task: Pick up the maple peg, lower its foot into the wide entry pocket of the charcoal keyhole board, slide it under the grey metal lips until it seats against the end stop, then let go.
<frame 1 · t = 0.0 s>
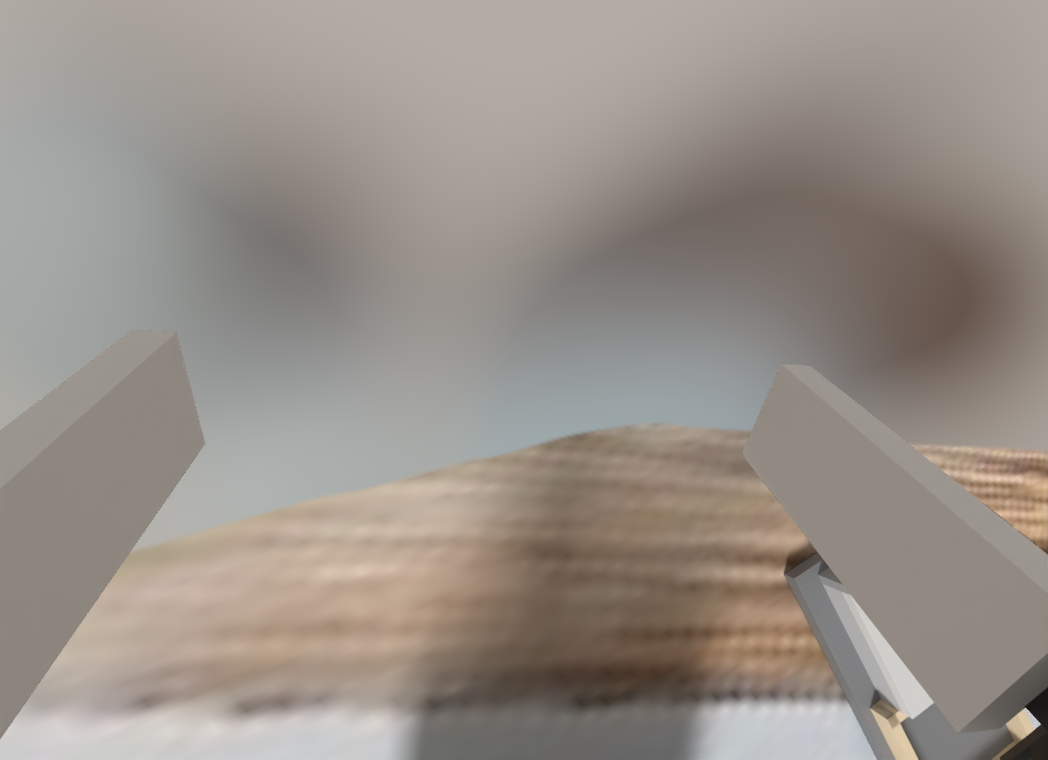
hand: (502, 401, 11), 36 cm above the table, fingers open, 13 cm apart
keyhole board: (906, 662, 52), on the table
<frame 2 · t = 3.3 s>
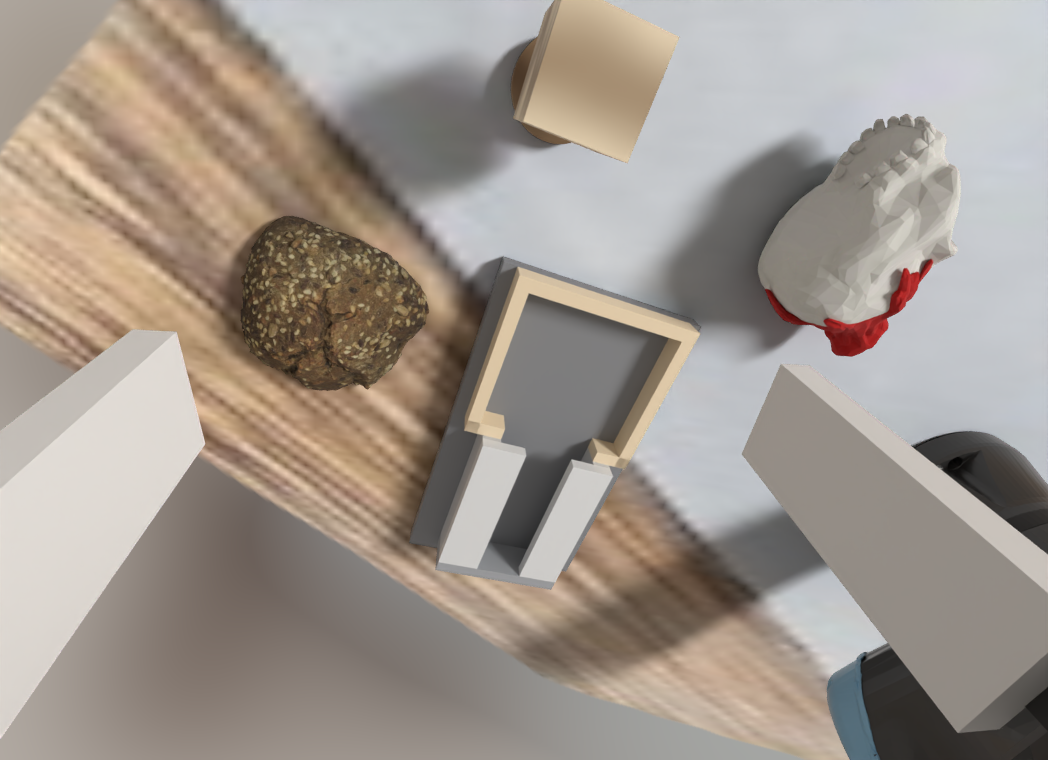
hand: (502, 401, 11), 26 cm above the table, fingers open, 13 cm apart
keyhole board: (542, 426, 43), on the table
bread roll: (333, 311, 37), on the table
white and red figurine: (811, 247, 37), on the table
maple peg: (558, 89, 31), on the table
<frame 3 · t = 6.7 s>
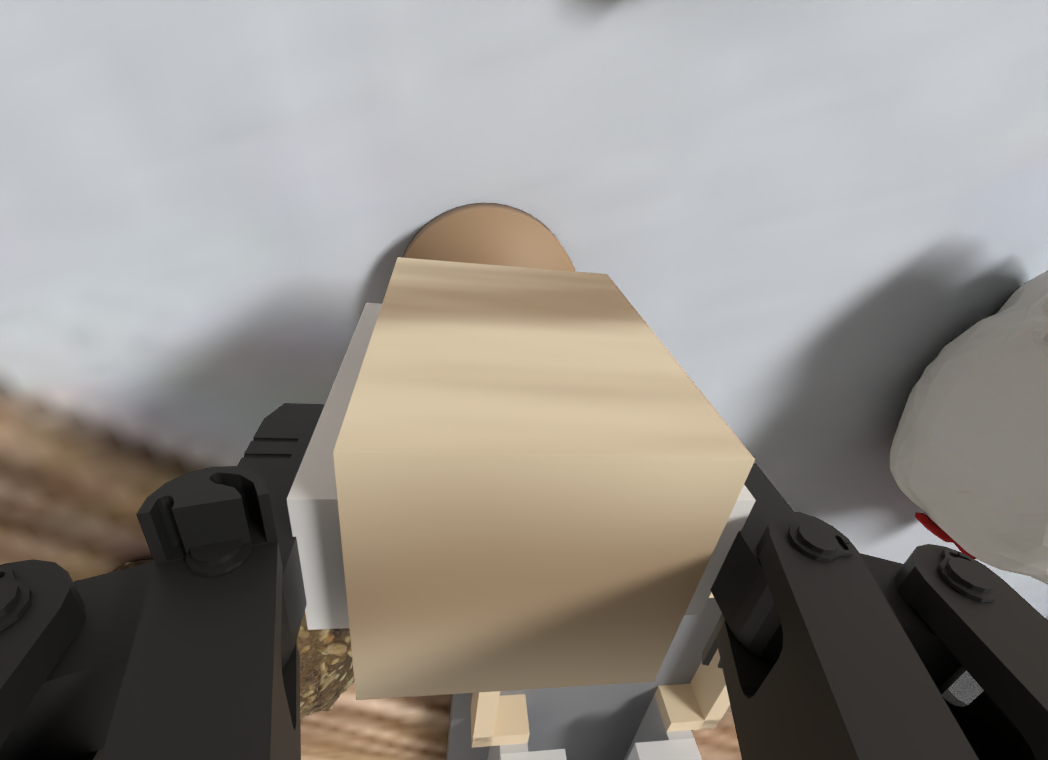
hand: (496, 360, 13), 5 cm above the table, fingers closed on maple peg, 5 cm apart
keyhole board: (584, 673, 30), on the table
bread roll: (250, 628, 25), on the table
white and red figurine: (966, 389, 22), on the table
maple peg: (486, 293, 17), on the table, touching gripper
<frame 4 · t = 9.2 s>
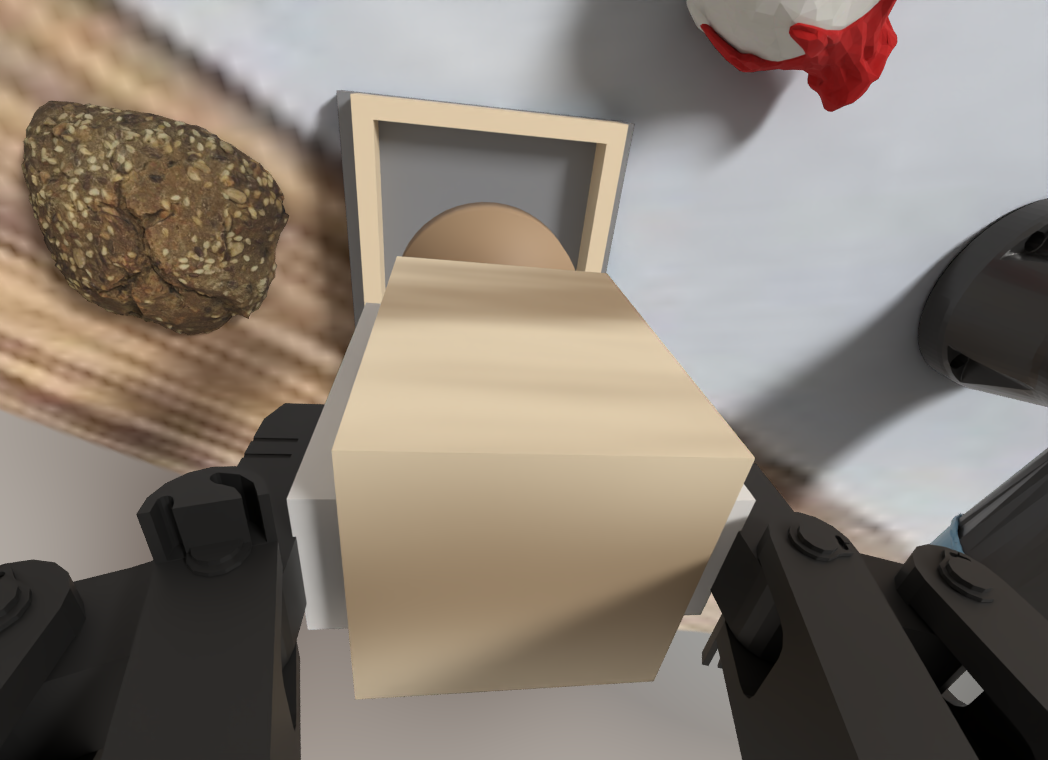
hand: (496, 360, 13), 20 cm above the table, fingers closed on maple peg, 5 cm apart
keyhole board: (478, 319, 34), on the table
bread roll: (173, 228, 29), on the table
maple peg: (486, 293, 17), point 16 cm above the table, touching gripper
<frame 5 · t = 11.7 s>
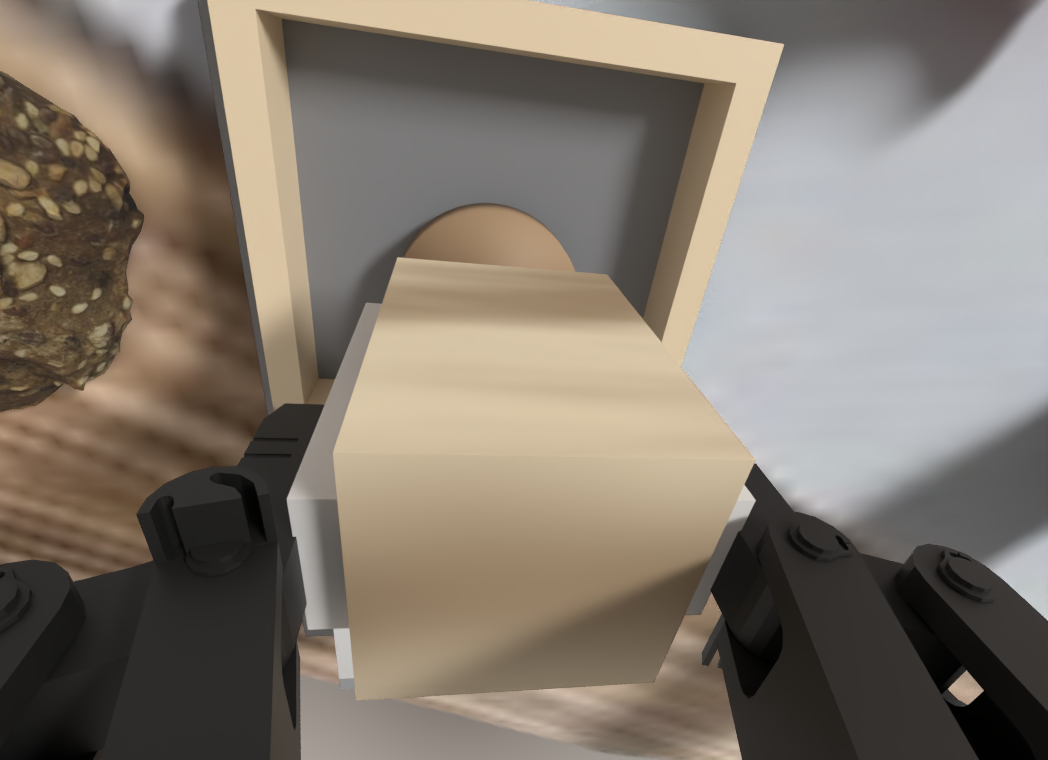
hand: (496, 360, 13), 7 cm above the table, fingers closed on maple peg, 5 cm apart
keyhole board: (475, 386, 21), on the table
maple peg: (486, 293, 17), point 2 cm above the table, touching gripper
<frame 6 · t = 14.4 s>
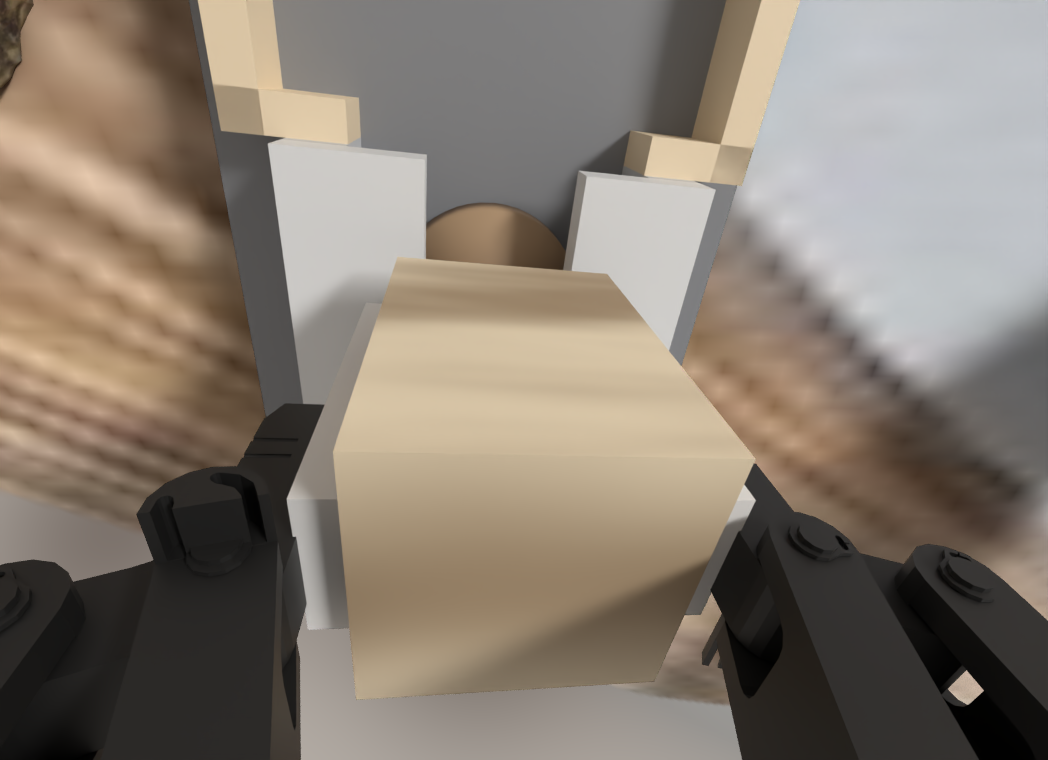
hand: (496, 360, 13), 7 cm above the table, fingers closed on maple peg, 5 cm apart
keyhole board: (494, 146, 16), on the table
maple peg: (486, 293, 17), point 2 cm above the table, touching gripper
when the fingers open (7 cm above the table, at t = 16.7 s): maple peg stays where it is, resting on keyhole board.
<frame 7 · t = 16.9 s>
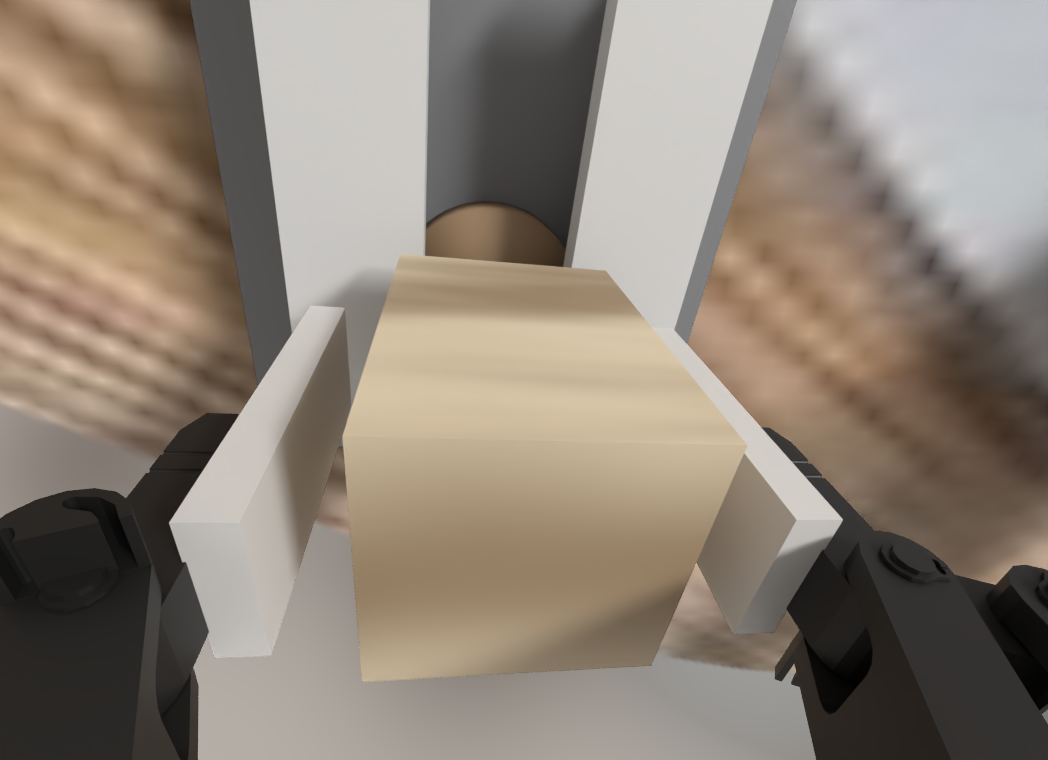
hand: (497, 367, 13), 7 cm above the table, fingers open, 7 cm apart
maple peg: (487, 291, 17), point 2 cm above the table, touching keyhole board
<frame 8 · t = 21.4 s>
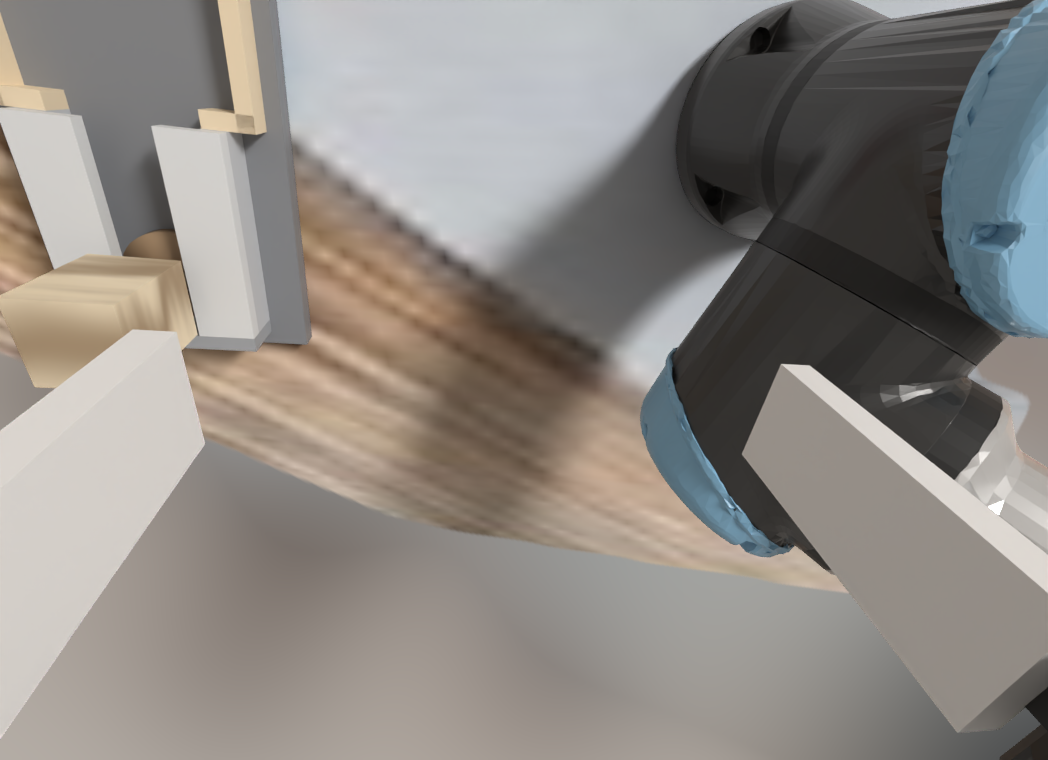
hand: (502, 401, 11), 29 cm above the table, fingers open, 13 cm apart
keyhole board: (156, 116, 31), on the table
maple peg: (180, 271, 35), point 2 cm above the table, touching keyhole board
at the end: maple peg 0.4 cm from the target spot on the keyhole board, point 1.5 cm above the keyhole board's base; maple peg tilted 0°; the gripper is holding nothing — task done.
